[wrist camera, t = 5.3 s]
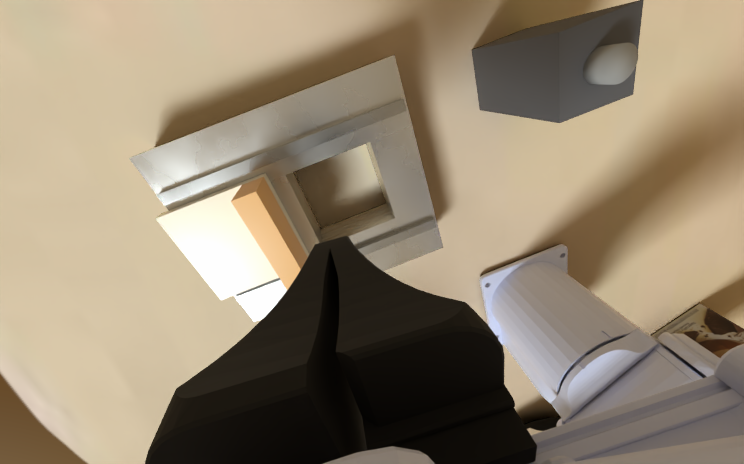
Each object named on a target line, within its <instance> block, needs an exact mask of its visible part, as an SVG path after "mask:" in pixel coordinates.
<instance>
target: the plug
mask: <svg viewBox="0 0 744 464" xmlns="http://www.w3.org/2000/svg"><path fill="white" fill-rule="evenodd" d="M642 8H643V0H639V1H635V2H631V3H627V4H623V5H619V6H615V7H611V8H607V9H603V10H599V11H595V12H591V13H587V14H583V15H579V16H575V17H571V18H567V19H563V20H559V21H555V22H551V23H547V24H543V25H539V26H535V27H531V28H527V29H524V30H522V31H519V32H517V33H514V34H511V35H509V36H506V37H504V38H501V39H499V40H496V41H493V42H491V43H488V44H486V45H483V46H481V47H478V48H475V49H473V50H472V56H473V63H474V70H475V78H476V85H477V92H478V100H479V107H480V110H483V111H489V112H496V113H502V114H508V115H514V116H520V117H526V118H532V119H538V120H544V121H550V122H556V123H561V122H564V121H566V120H569V119H571V118H574V117H576V116H579V115H582V114H584V113H587V112H589V111H592V110H594V109H597V108H599V107H602V106H605V105H607V104H610V103H612V102H615V101H617V100H620V99H622V98H625V97H628V96H630V95H633V90H634V81H635V72H636V64H637V60H638V44H639V35H640V26H641V17H642Z"/></svg>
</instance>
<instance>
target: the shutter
mask: <svg viewBox="0 0 744 464" xmlns="http://www.w3.org/2000/svg"><path fill="white" fill-rule="evenodd" d="M156 220H157V221H158V223H159V224H160V225H161V226H162V228H163V229H164V230H165V231H166V233H167V234H168V235H169V236H170V237H171V239H172V240H173V241H174V242H175V244H176V245H177V246H178V247H179V249H180V250H181V251H182V252H183V254H184V255H185V256H186V257H187V259H188V260H189V261H190V262H191V264H192V265H193V266H194V267H195V269H196V270H197V271H198V272H199V274H200V275H201V276H202V277H203V278H204V280H205V281H206V282H207V283H208V285H209V286H210V287H211V288H212V290H213V291H214V292H215V293H216V295H217V296H218V297H219V298H220V300H223V299H226V298H228V297H231V296H233V295H236V294H238V293H241V292H244V291H246V290H249V289H251V288H254V287H256V286H259V285H261V284H264V283H266V282H269V281H272V280H274V279H277V278H280V280H281V281H282V283H283V284H284V286H285V288H286V289H287V290H288V289H289V287H290V286H291V284H292V283H293V281H294V280H295V278H296V277H297V275H298V274H299V272H300V270H301V269H302V267H303V265H304V263H305V262H306V260H307V258H308V256H309V253H308V251H307V249H306V247H305V245H304V243H303V241H302V240H301V238H300V236H299V234H298V232H297V230H296V229H295V227H294V225H293V223H292V221H291V219H290V217H289V216H288V214H287V212H286V210H285V208H284V206H283V204H282V203H281V201H280V199H279V197H278V195H277V193H276V191H275V190H274V188H273V186H272V184H271V182H270V180H269V178H268V177H267V175H266V173H264V174H261V175H259V176H256V177H254V178H251V179H248V180H246V181H243V182H241V183H238V184H236V185H233V186H230V187H228V188H225V189H223V190H220V191H218V192H215V193H212V194H210V195H207V196H205V197H202V198H200V199H197V200H195V201H192V202H189V203H187V204H184V205H182V206H179V207H177V208H174V209H171V210H169V211H166V212H164V213H161V214H160V215H159V216H158V217H157V218H156Z"/></svg>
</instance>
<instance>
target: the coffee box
mask: <svg viewBox="0 0 744 464" xmlns="http://www.w3.org/2000/svg"><path fill="white" fill-rule="evenodd" d="M664 332H668V333H670V334H673V333H677V334H685V335H686V336H688V337H689V338H691V339H692V340H694V341H695V342H697V343H698V344H700V345H701V346H703V347H704V348H706V349H707V350H709V351H710V352H711V353H713V354H714V355H716V356H717V357H719V358H721V357H722V356H723V355H724V354H725V353H726V352H727V351H729V350H730V349H732V348H734V347H736V346H739V345H742V344H744V329H743V328H741V327H740V326H738V325H736V324H734V323H733V322H731V321H729V320H727V319H726V318H724V317H722V316H721V315H719V314H717V313H715V312H714V311H712V310H710V309H709V308H707V307H705V306H704V305H702V304H698V305H697V306H695V307H694V308H692V309H691V310H689V311H688V312H686V313H685V314H683V315H682V316H680V317H679V318H677V319H676V320H674V321H672V322H671V323H669V324H668V325H666V326H665V327H663V328H662V329H660V330H659V331H657V332H656V333H654V334H653V335H651V336H652V337H654V338H656V339H658V338H657V337H659V336H660V335H661V334H662V333H664ZM658 340H659V339H658ZM659 341H660V340H659Z"/></svg>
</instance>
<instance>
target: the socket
mask: <svg viewBox="0 0 744 464" xmlns="http://www.w3.org/2000/svg"><path fill="white" fill-rule="evenodd" d="M363 144H366V145H367V148H368V151H369V154H370V157H371V160H372V163H373V166H374V169H375V172H376V175H377V178H378V180H379V183H380V186H381V189H382V192H383V195H384V198H385V201H386V204H383V205H381V206H378V207H375V208H373V209H370V210H368V211H365V212H363V213H360V214H358V215H355V216H353V217H350V218H347V219H345V220H342V221H340V222H337V223H335V224H332V225H330V226H327V227H324V228H322V229H320V227H319V225H318V222H317V220H316V218H315V216H314V214H313V212H312V210H311V208H310V206H309V204H308V202H307V200H306V198H305V196H304V194H303V192H302V190H301V188H300V186H299V184H298V182H297V180H296V178H295V175H294V173H293V172H294V171H297V170H299V169H302V168H304V167H307V166H310V165H312V164H315V163H317V162H320V161H322V160H325V159H327V158H330V157H333V156H335V155H338V154H340V153H343V152H345V151H348V150H351V149H353V148H356V147H358V146H361V145H363ZM129 159H130V160H131V162H132V163H133V164H134V166H135V167H136V168H137V169H138V171H139V172H140V173H141V175H142V176H143V177H144V179H145V180H146V181H147V182H148V184H149V185H150V186H151V188H152V189H153V190H154V192H155V193H156V194H157V197H158V198H159V199H160V201H161V202H162V203H163V205H165V206H166V207H167V209H168V210H171V209H174V208H177V207H179V206H182V205H184V204H187V203H189V202H192V201H195V200H197V199H200V198H202V197H205V196H207V195H210V194H212V193H215V192H218V191H220V190H223V189H225V188H228V187H230V186H233V185H236V184H238V183H241V182H243V181H246V180H248V179H251V178H254V177H256V176H259V175H261V174H264V173H266V175H267V177H268V178H269V180H270V182H271V184H272V186H273V188H274V190H275V191H276V193H277V195H278V197H279V199H280V201H281V203H282V204H283V206H284V208H285V210H286V212H287V214H288V216H289V217H290V219H291V221H292V223H293V225H294V227H295V229H296V230H297V232H298V234H299V236H300V238H301V240H302V241H303V243H304V245H305V247H306V249H307V251H308V253H309V254H310V252H311V250H312V249H313V247H314V245H315V244H318V243H322V242H325V241H329V240H333V239H336V238H340V237H343V236H348V237H349V238H350V240H351V241H352V243H353V244H354V246H355V247H356V248H357V249H358V250H359V251H360V252H361V253H362V254H363V255H364V256H365V257H366V258H367V259H368V260H369V261H370V262H372V263H373V264H374V265H375V266H377V267H378V268H379V269H381V270H382V271H385V270H387V269H390V268H392V267H395V266H397V265H400V264H402V263H405V262H407V261H410V260H413V259H415V258H418V257H420V256H423V255H425V254H428V253H430V252H433V251H435V250H438V249H441V248H443V245H442V241H441V237H440V233H439V229H438V225H437V221H436V217H435V213H434V209H433V205H432V201H431V197H430V193H429V189H428V185H427V181H426V177H425V173H424V169H423V165H422V161H421V158H420V154H419V150H418V146H417V142H416V138H415V134H414V130H413V126H412V122H411V118H410V114H409V110H408V106H407V102H406V98H405V94H404V90H403V86H402V82H401V78H400V74H399V70H398V67H397V63H396V59H395V55H393V56H390V57H387V58H384V59H381V60H379V61H376V62H373V63H371V64H368V65H366V66H363V67H361V68H358V69H355V70H353V71H350V72H348V73H345V74H343V75H340V76H337V77H335V78H332V79H330V80H327V81H325V82H322V83H319V84H317V85H314V86H312V87H309V88H307V89H304V90H301V91H299V92H296V93H294V94H291V95H289V96H286V97H283V98H281V99H278V100H276V101H273V102H271V103H268V104H265V105H263V106H260V107H258V108H255V109H253V110H250V111H247V112H245V113H242V114H240V115H237V116H235V117H232V118H229V119H227V120H224V121H222V122H219V123H217V124H214V125H211V126H209V127H206V128H204V129H201V130H199V131H196V132H193V133H191V134H188V135H186V136H183V137H181V138H178V139H175V140H173V141H170V142H168V143H165V144H163V145H160V146H157V147H155V148H152V149H150V150H148V151H145V152H143V153H140V154H138V155H135V156H133V157H131V158H129ZM286 292H287V289H286V288H285V286H284V284H283V283H282V281H281V280H280V278H277V279H274V280H272V281H269V282H266V283H264V284H261V285H259V286H256V287H254V288H251V289H249V290H246V291H244V292H241V293H238V294H236V295H234V296H235V298H236V300H237V301H238V302H239V304H241V305H242V307H243V308H244V309H245V310H246V312H247V313H248V314H249V316H250V317H251V318H252V320H253V321H254V322H255V321H257V320H260V319H262V318H264V317H265V316H266V315H267V314H268V313H269V312H270V311H271V310H272V309H273V308H274V306H275V305H276V304H277V303H278V302H279V301H280V299H281V298H282V297H283V295H284V294H285V293H286Z"/></svg>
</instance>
